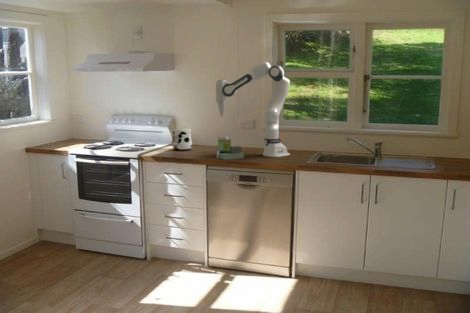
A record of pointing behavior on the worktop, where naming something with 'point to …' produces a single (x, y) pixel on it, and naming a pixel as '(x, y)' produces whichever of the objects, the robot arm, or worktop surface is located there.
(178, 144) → the milk container
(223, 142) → the tea box
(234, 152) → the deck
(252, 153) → the worktop surface
